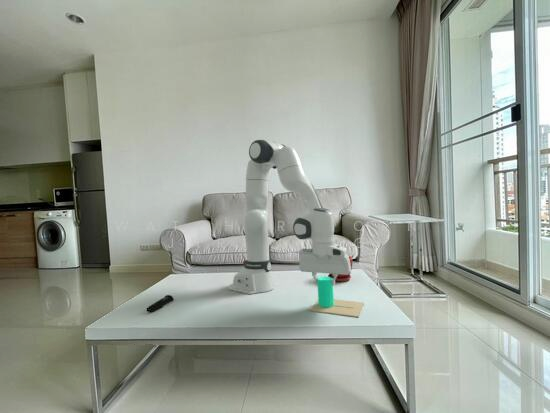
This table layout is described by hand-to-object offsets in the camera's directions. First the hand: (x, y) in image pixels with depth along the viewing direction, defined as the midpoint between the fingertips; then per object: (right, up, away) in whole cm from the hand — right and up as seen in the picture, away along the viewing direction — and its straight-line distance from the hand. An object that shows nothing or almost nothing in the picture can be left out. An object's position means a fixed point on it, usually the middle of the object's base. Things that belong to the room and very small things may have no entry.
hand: (325, 283), depth 111 cm
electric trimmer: (-68, -12, +8) cm, 70 cm away
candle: (0, -9, 0) cm, 9 cm away
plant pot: (+14, -8, +36) cm, 39 cm away
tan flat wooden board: (+4, -9, -2) cm, 10 cm away
